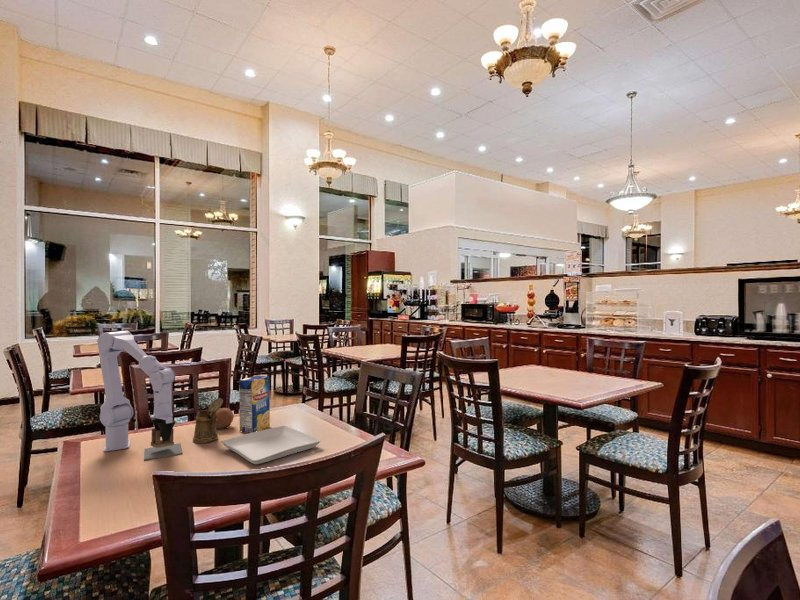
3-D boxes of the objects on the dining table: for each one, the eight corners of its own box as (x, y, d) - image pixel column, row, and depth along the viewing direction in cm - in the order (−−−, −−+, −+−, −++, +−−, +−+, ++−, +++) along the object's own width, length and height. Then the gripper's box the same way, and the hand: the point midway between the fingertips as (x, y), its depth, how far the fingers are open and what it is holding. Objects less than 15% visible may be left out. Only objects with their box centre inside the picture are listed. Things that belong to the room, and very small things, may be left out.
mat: (144, 450, 160) (144, 448, 160) (180, 444, 166) (180, 443, 166) (144, 460, 150) (144, 459, 150) (182, 454, 156) (182, 452, 156)
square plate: (219, 450, 161) (219, 440, 161) (284, 433, 180) (284, 424, 180) (253, 470, 142) (253, 459, 142) (322, 449, 161) (322, 439, 161)
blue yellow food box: (239, 431, 182) (239, 380, 181) (257, 424, 192) (257, 375, 191) (252, 433, 179) (251, 381, 179) (269, 426, 189) (269, 376, 189)
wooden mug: (209, 447, 163) (209, 399, 163) (188, 441, 170) (187, 395, 170) (229, 440, 171) (229, 395, 171) (208, 434, 178) (207, 391, 178)
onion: (212, 436, 185) (201, 416, 184) (228, 424, 194) (217, 405, 193) (226, 431, 181) (214, 410, 180) (242, 419, 189) (231, 399, 188)
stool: (150, 445, 158) (151, 428, 158) (168, 441, 162) (168, 425, 162) (156, 448, 153) (156, 431, 154) (174, 445, 158) (174, 428, 158)
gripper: (144, 400, 160) (145, 436, 160) (157, 407, 150) (157, 446, 150) (165, 397, 165) (165, 432, 165) (178, 403, 155) (179, 441, 155)
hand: (163, 438), depth 158 cm, fingers closed on stool, 5 cm apart
